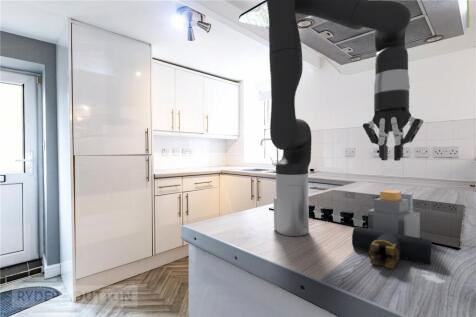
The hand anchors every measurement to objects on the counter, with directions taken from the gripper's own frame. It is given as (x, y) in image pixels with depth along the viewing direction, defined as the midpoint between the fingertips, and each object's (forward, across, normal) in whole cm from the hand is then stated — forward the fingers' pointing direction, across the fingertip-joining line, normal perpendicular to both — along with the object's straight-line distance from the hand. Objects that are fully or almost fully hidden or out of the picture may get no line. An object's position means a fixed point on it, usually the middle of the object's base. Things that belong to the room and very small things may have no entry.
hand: (390, 160), depth 64 cm
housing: (+21, 0, +2) cm, 21 cm away
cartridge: (+20, 0, +4) cm, 21 cm away
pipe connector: (+22, +3, -11) cm, 24 cm away
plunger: (+11, 0, 0) cm, 11 cm away
